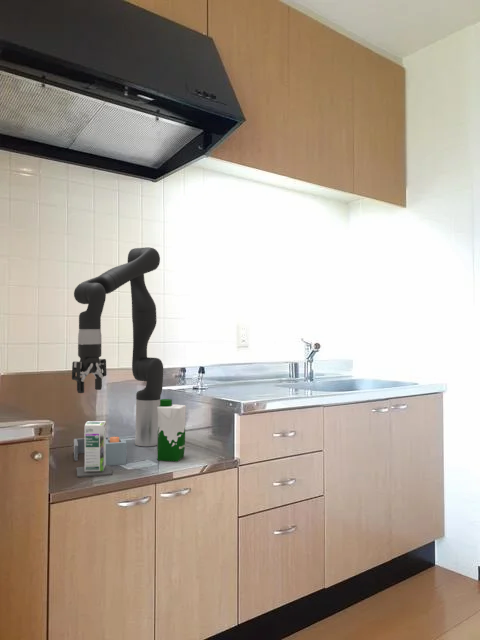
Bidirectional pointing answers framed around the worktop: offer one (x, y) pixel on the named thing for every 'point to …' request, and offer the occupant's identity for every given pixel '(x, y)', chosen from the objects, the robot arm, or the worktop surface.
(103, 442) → the syrup box
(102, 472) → the mat
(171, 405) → the milk carton
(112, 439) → the plunger
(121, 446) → the grey square socket
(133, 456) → the worktop surface
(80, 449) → the grey u-shaped frame
